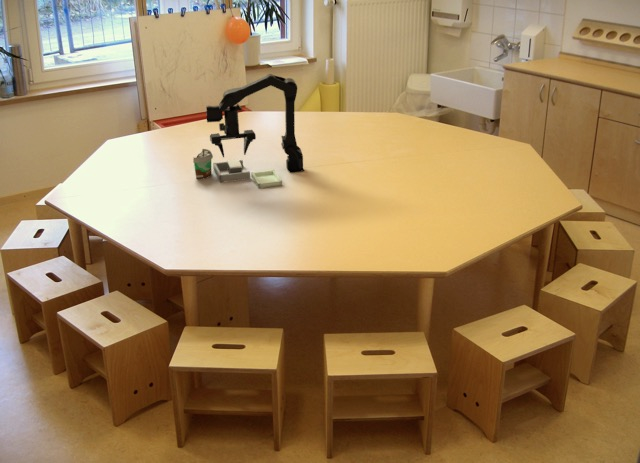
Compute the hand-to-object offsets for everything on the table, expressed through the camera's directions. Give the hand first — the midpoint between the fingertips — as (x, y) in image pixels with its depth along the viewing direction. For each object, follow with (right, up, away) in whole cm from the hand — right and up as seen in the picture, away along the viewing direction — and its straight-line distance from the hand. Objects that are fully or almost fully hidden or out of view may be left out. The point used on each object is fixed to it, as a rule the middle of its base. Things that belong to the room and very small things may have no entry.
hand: (234, 155), depth 326 cm
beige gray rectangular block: (0, -7, +4) cm, 8 cm away
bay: (-1, -8, +3) cm, 8 cm away
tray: (+14, -11, -5) cm, 19 cm away
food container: (-12, -8, +2) cm, 15 cm away
